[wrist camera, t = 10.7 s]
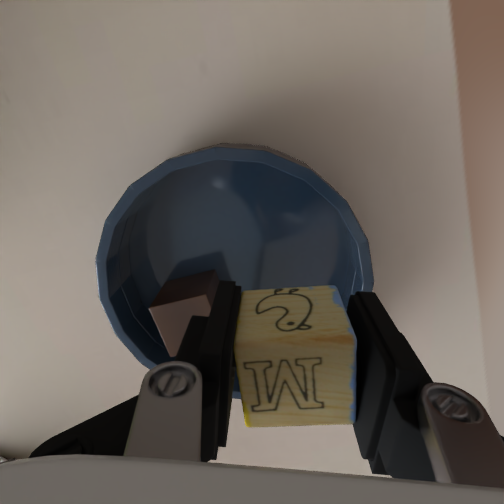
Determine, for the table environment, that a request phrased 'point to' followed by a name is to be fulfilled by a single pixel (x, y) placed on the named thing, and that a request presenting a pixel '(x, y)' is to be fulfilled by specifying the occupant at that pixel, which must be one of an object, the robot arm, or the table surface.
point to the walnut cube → (182, 305)
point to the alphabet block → (295, 357)
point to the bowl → (225, 235)
